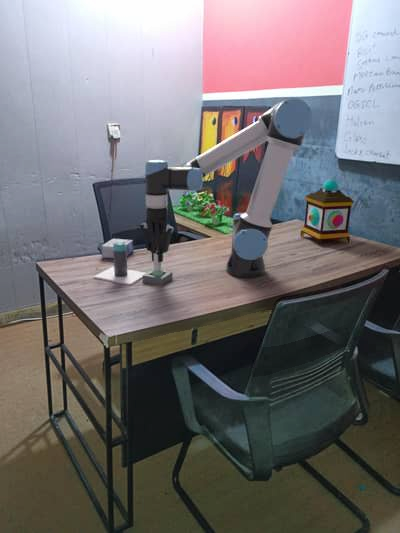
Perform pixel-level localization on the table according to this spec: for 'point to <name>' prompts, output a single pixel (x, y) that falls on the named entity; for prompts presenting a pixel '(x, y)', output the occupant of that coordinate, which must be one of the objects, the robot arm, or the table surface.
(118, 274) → the ball
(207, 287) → the table surface
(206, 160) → the robot arm
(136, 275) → the paper pad
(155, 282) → the button housing
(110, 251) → the ink cartridge box
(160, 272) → the button
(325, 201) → the decorative lantern
